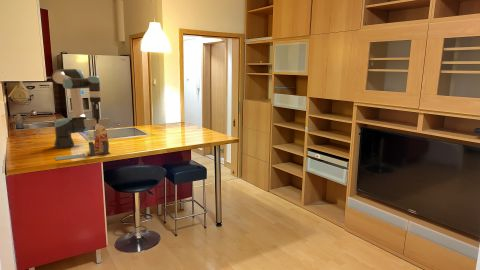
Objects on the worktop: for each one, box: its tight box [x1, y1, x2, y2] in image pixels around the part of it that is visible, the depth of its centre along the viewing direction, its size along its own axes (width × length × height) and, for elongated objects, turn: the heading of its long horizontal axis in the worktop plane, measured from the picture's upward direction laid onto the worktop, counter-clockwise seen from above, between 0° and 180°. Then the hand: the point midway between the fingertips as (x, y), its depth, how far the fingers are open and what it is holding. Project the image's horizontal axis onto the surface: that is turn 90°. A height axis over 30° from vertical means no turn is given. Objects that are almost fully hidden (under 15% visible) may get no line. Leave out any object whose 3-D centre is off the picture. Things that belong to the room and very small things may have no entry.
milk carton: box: [94, 125, 110, 151], centre depth 275 cm, size 9×9×20 cm
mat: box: [55, 153, 87, 161], centre depth 251 cm, size 9×20×1 cm, turn 122°
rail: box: [84, 117, 111, 128], centre depth 256 cm, size 4×18×5 cm, turn 122°
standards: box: [87, 141, 111, 157], centre depth 260 cm, size 7×15×10 cm, turn 122°
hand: (97, 127), depth 257 cm, fingers closed on rail, 3 cm apart
